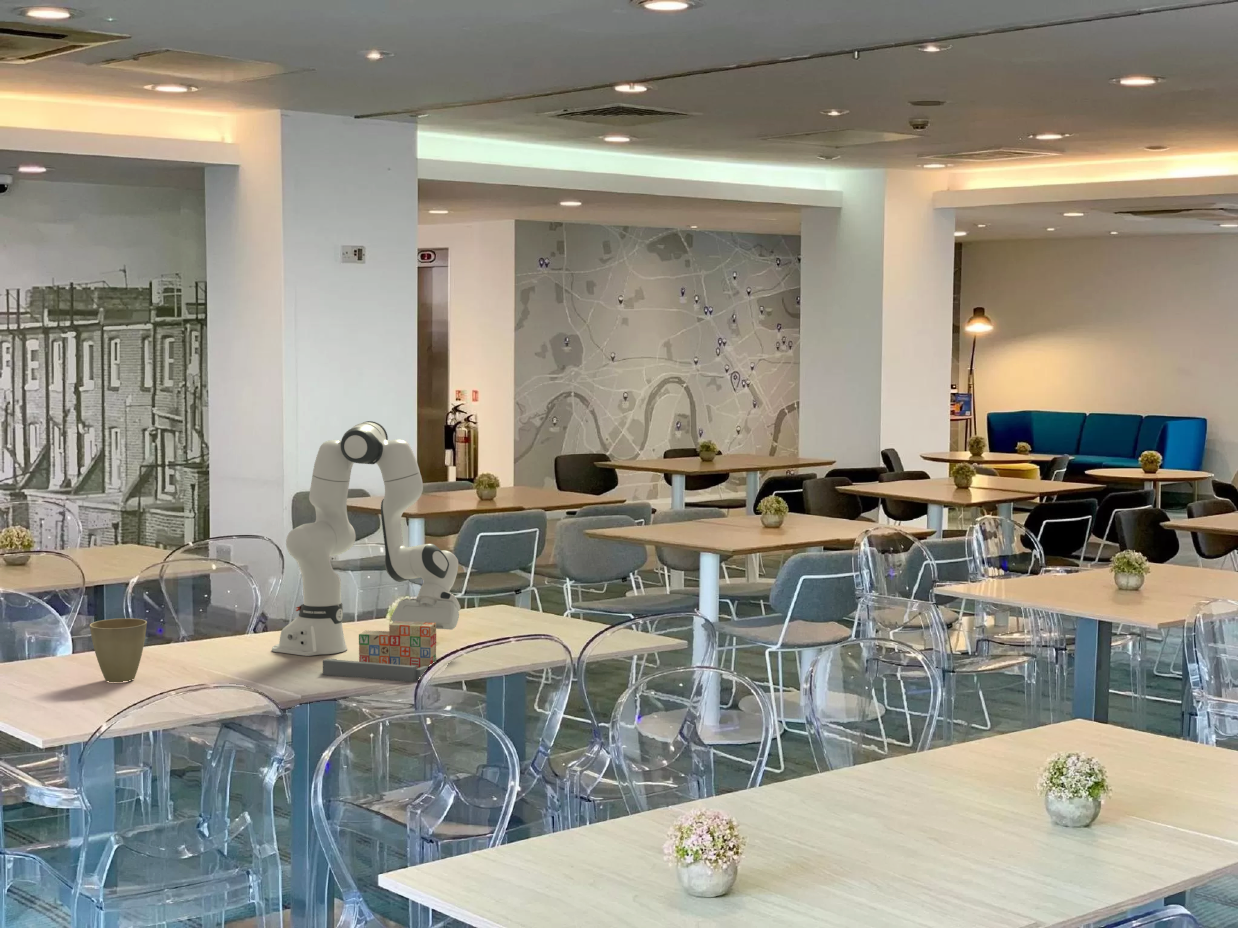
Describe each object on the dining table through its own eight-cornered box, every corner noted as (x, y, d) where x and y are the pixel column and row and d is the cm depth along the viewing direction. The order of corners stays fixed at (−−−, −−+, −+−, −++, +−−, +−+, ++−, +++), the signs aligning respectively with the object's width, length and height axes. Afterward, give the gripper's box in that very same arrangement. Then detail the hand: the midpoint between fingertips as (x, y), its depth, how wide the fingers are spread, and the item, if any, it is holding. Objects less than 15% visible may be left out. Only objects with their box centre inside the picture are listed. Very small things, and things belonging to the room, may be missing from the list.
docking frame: (319, 674, 430) (318, 659, 430) (332, 669, 437) (331, 655, 436) (416, 682, 420) (416, 667, 419) (428, 677, 426) (428, 662, 426)
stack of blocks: (358, 666, 442) (357, 623, 441) (365, 661, 448) (365, 619, 447) (430, 668, 439) (430, 625, 438) (436, 664, 445) (436, 621, 444)
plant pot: (83, 679, 423) (81, 622, 422) (136, 672, 432) (135, 616, 431) (102, 689, 412) (100, 629, 410) (156, 681, 421) (155, 623, 419)
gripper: (396, 591, 461) (381, 629, 453) (458, 595, 454) (444, 633, 446) (404, 604, 466) (389, 642, 457) (465, 607, 459) (451, 646, 450)
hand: (417, 638), depth 451 cm, fingers closed
